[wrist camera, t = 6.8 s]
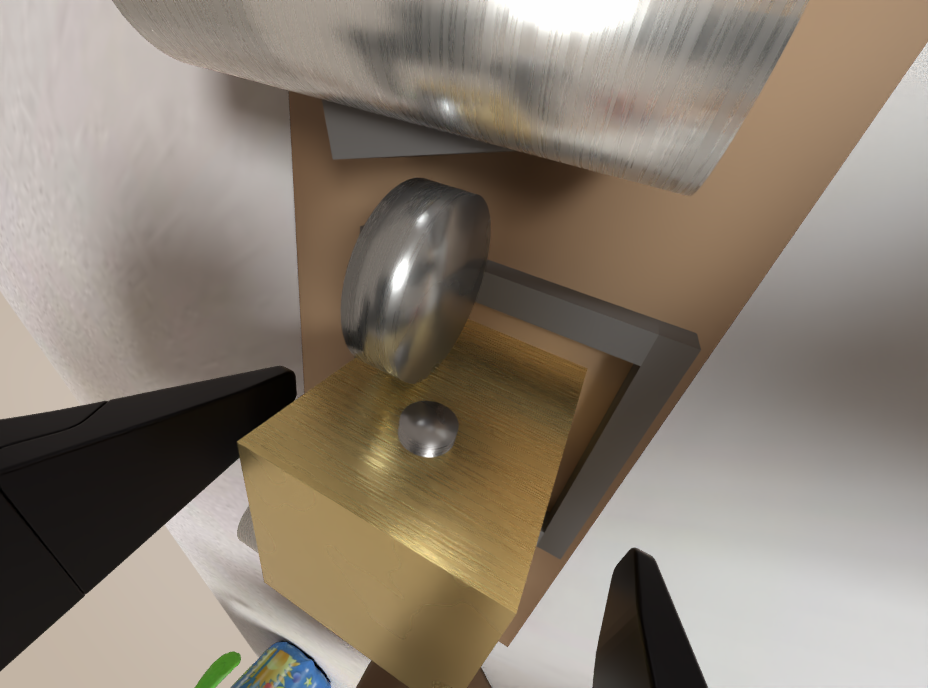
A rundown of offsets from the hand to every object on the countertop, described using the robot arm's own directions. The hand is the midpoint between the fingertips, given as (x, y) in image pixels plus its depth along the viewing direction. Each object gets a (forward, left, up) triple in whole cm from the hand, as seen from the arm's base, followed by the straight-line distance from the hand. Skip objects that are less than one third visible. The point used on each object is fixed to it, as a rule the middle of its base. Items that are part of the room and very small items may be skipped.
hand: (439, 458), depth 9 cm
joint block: (0, 0, -3) cm, 3 cm away
